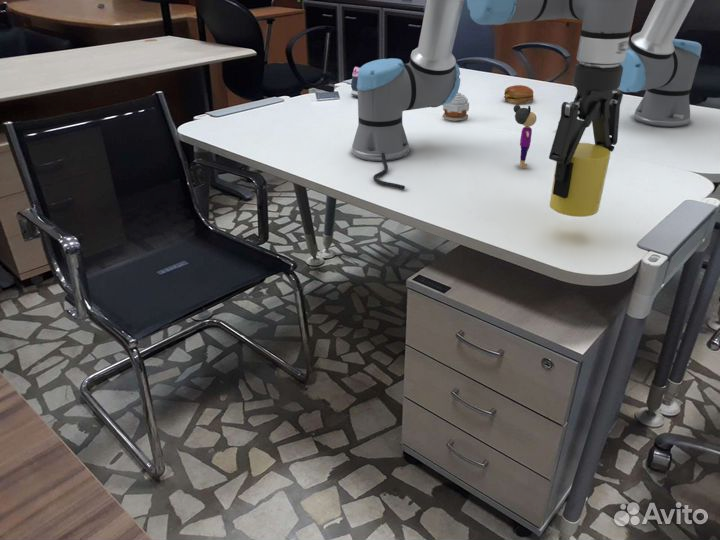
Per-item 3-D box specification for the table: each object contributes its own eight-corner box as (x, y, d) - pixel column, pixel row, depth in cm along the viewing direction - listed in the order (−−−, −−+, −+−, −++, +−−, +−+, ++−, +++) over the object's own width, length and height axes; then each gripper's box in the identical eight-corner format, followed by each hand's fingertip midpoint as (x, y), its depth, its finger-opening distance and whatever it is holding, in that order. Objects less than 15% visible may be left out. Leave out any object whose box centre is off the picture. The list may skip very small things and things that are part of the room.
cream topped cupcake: (469, 115, 182) (472, 66, 174) (466, 122, 175) (469, 72, 168) (444, 114, 184) (447, 66, 176) (441, 121, 177) (443, 71, 169)
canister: (559, 193, 113) (568, 139, 108) (605, 204, 109) (617, 148, 103) (542, 209, 107) (550, 152, 102) (589, 221, 103) (601, 162, 97)
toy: (530, 174, 138) (539, 113, 130) (507, 173, 139) (514, 112, 131) (528, 159, 147) (536, 101, 139) (506, 158, 148) (513, 100, 140)
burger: (537, 99, 196) (538, 85, 194) (525, 105, 190) (527, 91, 188) (510, 95, 202) (511, 82, 199) (498, 101, 195) (499, 87, 193)
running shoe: (411, 86, 217) (412, 56, 211) (366, 100, 200) (365, 68, 195) (392, 82, 222) (392, 53, 217) (346, 96, 206) (345, 65, 200)
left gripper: (577, 76, 87) (555, 211, 98) (658, 57, 97) (629, 181, 109) (538, 68, 92) (521, 197, 104) (618, 51, 102) (595, 170, 114)
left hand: (576, 189), depth 106 cm, fingers closed on canister, 9 cm apart
